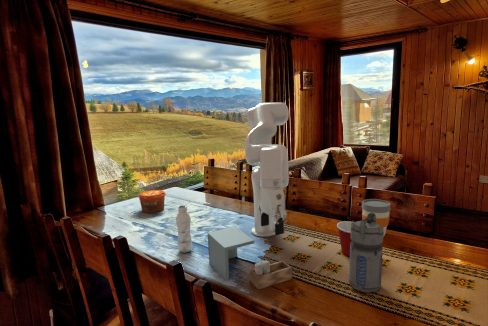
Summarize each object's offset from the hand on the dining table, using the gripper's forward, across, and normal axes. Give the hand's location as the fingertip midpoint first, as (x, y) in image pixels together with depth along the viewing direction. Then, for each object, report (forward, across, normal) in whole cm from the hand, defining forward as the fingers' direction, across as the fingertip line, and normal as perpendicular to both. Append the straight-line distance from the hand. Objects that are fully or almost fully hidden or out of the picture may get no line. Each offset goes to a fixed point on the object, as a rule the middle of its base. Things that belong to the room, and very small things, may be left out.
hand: (271, 229), depth 118 cm
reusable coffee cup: (+17, +9, -62) cm, 65 cm away
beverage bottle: (+18, -21, -24) cm, 37 cm away
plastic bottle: (+18, +36, +22) cm, 46 cm away
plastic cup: (+18, 0, -37) cm, 41 cm away
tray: (+18, -2, +2) cm, 18 cm away
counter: (+18, +14, +10) cm, 24 cm away
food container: (+17, +101, +22) cm, 105 cm away
